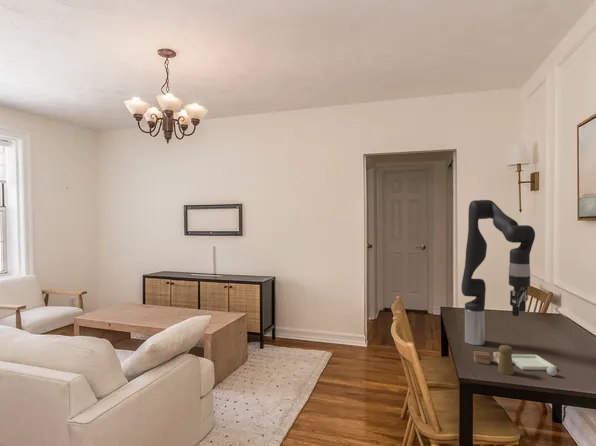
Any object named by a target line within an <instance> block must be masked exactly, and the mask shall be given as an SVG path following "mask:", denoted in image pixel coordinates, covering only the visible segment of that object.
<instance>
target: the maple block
mask: <svg viewBox="0 0 596 446" xmlns="http://www.w3.org/2000/svg"><path fill="white" fill-rule="evenodd" d="M499 358H500V352H499V351H494V352H493V362H495V363H496V364H498V365H499Z"/></svg>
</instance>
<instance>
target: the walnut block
mask: <svg viewBox="0 0 596 446" xmlns="http://www.w3.org/2000/svg"><path fill="white" fill-rule="evenodd" d="M473 362H474V363H476V364H485V365H491V355H490V353H489V352H487V351H476V350H474V351H473Z"/></svg>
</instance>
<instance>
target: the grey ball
mask: <svg viewBox="0 0 596 446" xmlns="http://www.w3.org/2000/svg"><path fill="white" fill-rule="evenodd" d="M546 373H547V374H548V375H549V376H553V377H555V376H556V375H557V373H558V371H557V368H556V369H555V368H554V367H548V368H547V370H546Z"/></svg>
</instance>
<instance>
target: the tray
mask: <svg viewBox="0 0 596 446" xmlns="http://www.w3.org/2000/svg"><path fill="white" fill-rule="evenodd" d="M511 356H512V363H513V365H515V367H518V368H519V369H520V370H522V371H547V368H548V367H554V368H555V369H556V370H557V366H555V365H554V364H553V363H551V362H550V361H548V360H546V359H544V358H542V357H541V356H539V355H537V354H513V353H512V355H511Z"/></svg>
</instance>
